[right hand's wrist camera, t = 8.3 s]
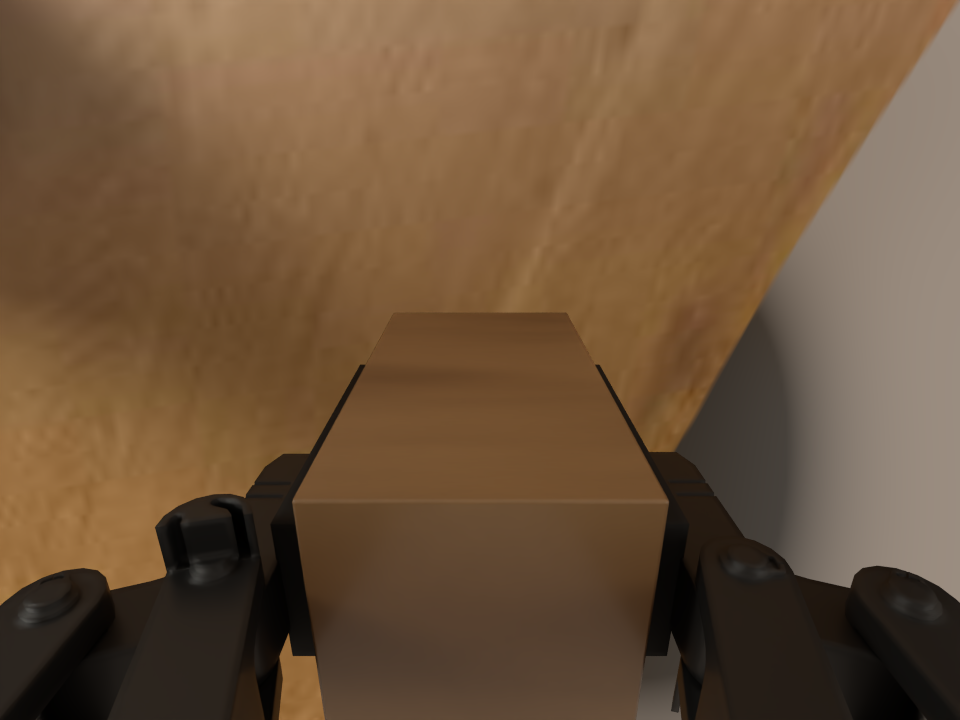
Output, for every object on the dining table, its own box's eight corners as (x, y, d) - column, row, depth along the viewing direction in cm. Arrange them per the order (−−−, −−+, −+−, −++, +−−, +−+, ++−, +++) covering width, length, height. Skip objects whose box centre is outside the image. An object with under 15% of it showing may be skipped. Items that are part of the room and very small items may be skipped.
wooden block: (557, 464, 17) (631, 759, 9) (402, 464, 17) (329, 758, 9) (567, 312, 15) (671, 500, 7) (393, 312, 15) (290, 500, 7)
